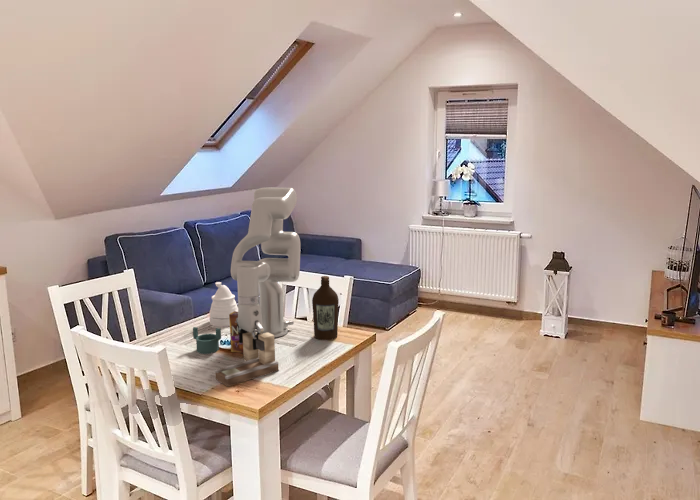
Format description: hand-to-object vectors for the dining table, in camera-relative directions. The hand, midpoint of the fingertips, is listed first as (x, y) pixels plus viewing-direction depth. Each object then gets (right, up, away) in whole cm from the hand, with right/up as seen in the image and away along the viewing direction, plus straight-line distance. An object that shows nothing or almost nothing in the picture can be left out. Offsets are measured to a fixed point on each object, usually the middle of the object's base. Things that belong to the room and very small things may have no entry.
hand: (250, 345), depth 215 cm
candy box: (-4, -4, +10) cm, 12 cm away
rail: (+1, -8, -11) cm, 14 cm away
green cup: (-18, -4, +13) cm, 22 cm away
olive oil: (+26, -1, +26) cm, 37 cm away
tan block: (0, -6, +2) cm, 6 cm away
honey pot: (-19, +3, +45) cm, 49 cm away
